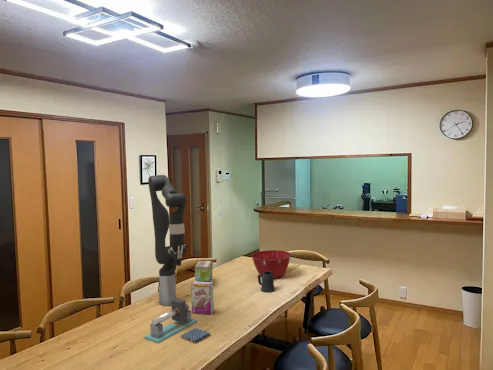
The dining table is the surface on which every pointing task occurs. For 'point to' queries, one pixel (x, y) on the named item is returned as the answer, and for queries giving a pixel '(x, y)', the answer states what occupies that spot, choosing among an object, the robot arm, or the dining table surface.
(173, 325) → the base board
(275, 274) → the mixing bowl
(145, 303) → the dining table surface
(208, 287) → the candy bar box
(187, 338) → the woven mat
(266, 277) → the mug
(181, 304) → the tall grey rectangular prism
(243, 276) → the dining table surface
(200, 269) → the tea box
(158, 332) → the pipe
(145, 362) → the dining table surface
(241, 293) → the dining table surface
